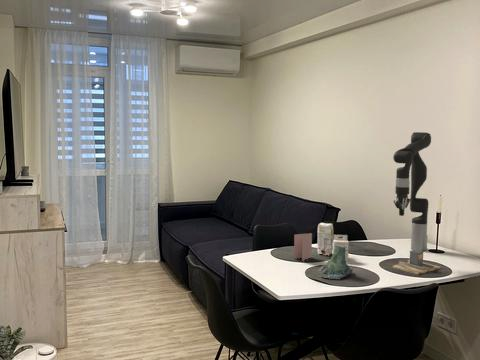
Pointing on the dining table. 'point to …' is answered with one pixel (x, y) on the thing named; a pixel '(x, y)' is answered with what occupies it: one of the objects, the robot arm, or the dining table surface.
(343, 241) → the ink cartridge box
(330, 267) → the tree stump
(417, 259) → the module
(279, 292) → the dining table surface
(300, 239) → the greeting card
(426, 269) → the rail board
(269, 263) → the dining table surface
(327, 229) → the juice carton
